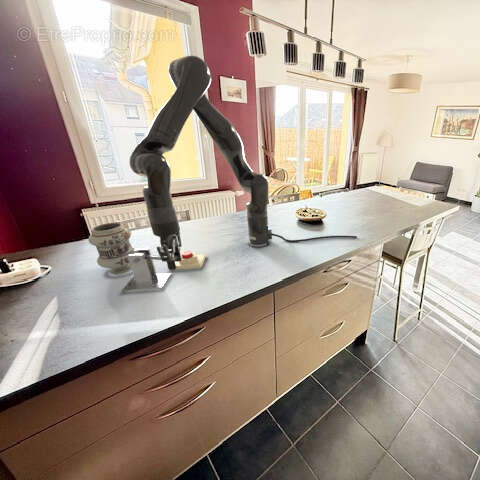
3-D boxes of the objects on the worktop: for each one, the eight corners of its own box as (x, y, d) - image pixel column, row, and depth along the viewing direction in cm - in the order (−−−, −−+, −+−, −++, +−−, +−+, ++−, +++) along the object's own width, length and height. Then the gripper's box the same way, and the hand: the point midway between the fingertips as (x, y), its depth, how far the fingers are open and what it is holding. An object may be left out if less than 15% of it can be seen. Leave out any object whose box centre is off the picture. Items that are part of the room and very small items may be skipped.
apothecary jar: (119, 261, 98) (104, 219, 90) (149, 263, 97) (136, 221, 90) (93, 278, 87) (73, 232, 79) (126, 280, 86) (110, 233, 79)
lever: (178, 258, 86) (178, 252, 85) (173, 265, 81) (173, 259, 80) (139, 255, 83) (138, 249, 82) (131, 263, 78) (131, 256, 77)
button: (193, 254, 98) (192, 250, 97) (191, 258, 95) (190, 254, 94) (184, 254, 97) (183, 251, 96) (181, 259, 94) (180, 255, 93)
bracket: (172, 275, 90) (163, 244, 85) (162, 290, 82) (153, 257, 77) (135, 278, 88) (124, 246, 82) (122, 293, 80) (109, 259, 74)
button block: (206, 258, 102) (204, 250, 101) (201, 269, 94) (199, 260, 93) (178, 260, 100) (176, 251, 99) (170, 271, 92) (168, 262, 91)
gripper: (168, 226, 71) (180, 275, 78) (183, 211, 84) (192, 254, 91) (139, 227, 70) (155, 277, 77) (159, 211, 82) (170, 255, 89)
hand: (175, 264), depth 84 cm, fingers closed on lever, 5 cm apart
